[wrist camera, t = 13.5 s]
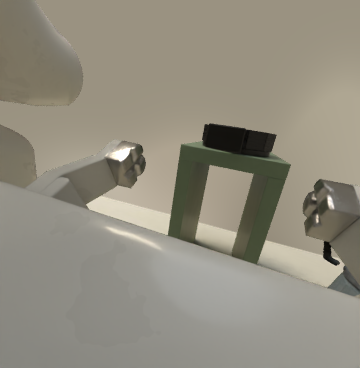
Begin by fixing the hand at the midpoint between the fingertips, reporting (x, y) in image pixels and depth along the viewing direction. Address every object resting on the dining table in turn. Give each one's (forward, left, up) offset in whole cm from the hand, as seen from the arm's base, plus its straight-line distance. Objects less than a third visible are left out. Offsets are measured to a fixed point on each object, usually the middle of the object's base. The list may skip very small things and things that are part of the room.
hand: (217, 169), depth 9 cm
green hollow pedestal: (+17, +19, -27) cm, 36 cm away
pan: (+9, +10, -1) cm, 14 cm away
